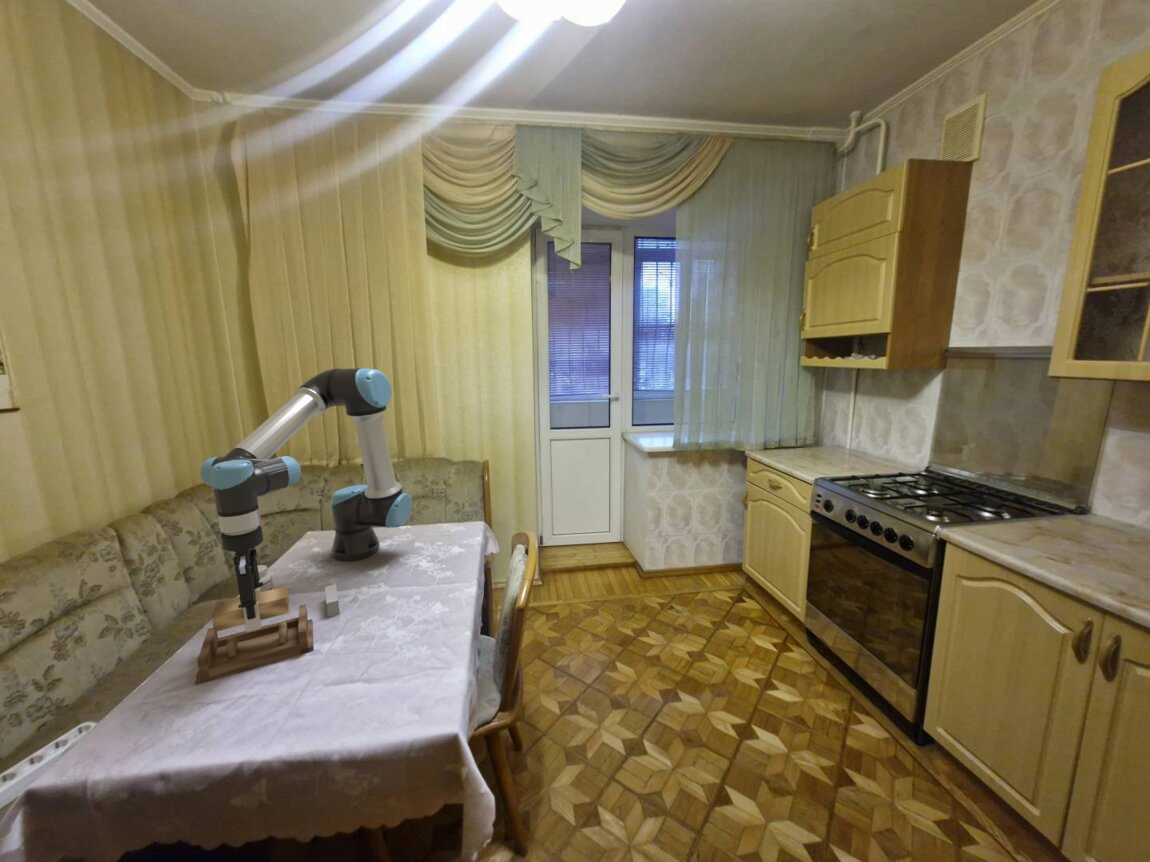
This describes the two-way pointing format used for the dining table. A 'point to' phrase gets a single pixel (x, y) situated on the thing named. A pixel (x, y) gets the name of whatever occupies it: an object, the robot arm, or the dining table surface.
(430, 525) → the dining table surface
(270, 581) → the pill bottle
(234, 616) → the plank
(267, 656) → the peg frame
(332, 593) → the stand
